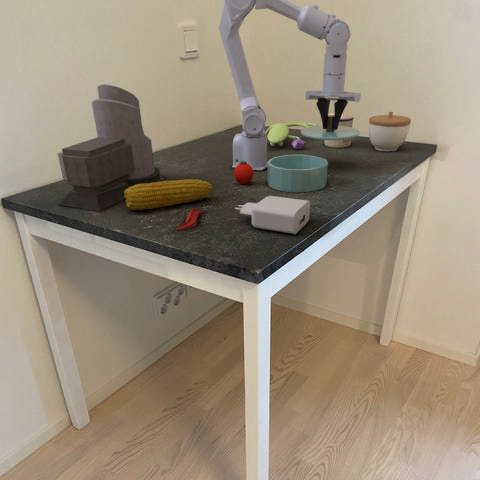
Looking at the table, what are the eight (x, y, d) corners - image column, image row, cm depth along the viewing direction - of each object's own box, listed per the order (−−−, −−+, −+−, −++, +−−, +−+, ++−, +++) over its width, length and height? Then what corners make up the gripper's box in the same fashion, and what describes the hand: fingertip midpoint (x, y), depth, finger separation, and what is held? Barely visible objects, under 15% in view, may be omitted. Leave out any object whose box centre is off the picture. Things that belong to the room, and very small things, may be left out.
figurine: (319, 136, 172) (321, 119, 169) (300, 153, 151) (301, 135, 148) (271, 133, 178) (271, 117, 175) (245, 150, 157) (245, 132, 154)
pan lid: (292, 139, 131) (293, 119, 128) (311, 128, 143) (312, 109, 140) (351, 143, 124) (353, 122, 122) (365, 131, 137) (367, 112, 134)
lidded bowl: (411, 146, 156) (417, 110, 150) (399, 155, 147) (405, 116, 142) (373, 142, 162) (377, 107, 156) (360, 150, 153) (364, 113, 147)
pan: (258, 188, 122) (258, 166, 119) (280, 172, 134) (280, 152, 131) (315, 195, 117) (317, 172, 114) (333, 178, 128) (335, 157, 125)
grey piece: (126, 171, 138) (112, 77, 125) (174, 177, 132) (165, 78, 119) (53, 204, 115) (26, 92, 102) (107, 212, 109) (86, 95, 96)
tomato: (230, 184, 125) (229, 163, 122) (239, 179, 129) (238, 158, 126) (248, 187, 123) (248, 165, 120) (256, 181, 127) (256, 160, 124)
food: (131, 216, 107) (127, 190, 104) (124, 209, 111) (120, 183, 108) (216, 200, 115) (215, 175, 112) (207, 194, 119) (205, 169, 116)
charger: (246, 211, 108) (309, 220, 102) (227, 225, 101) (293, 236, 95) (246, 190, 106) (310, 199, 100) (226, 203, 99) (294, 213, 93)
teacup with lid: (347, 149, 155) (351, 110, 149) (320, 147, 158) (322, 109, 152) (355, 141, 165) (359, 104, 158) (329, 139, 168) (332, 103, 161)
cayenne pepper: (184, 231, 99) (183, 223, 98) (166, 228, 101) (165, 219, 100) (215, 213, 107) (215, 205, 106) (198, 210, 109) (197, 202, 108)
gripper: (302, 75, 125) (300, 129, 132) (358, 76, 120) (352, 133, 127) (311, 72, 130) (308, 125, 138) (364, 73, 125) (358, 128, 132)
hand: (330, 128), depth 133 cm, fingers closed on pan lid, 2 cm apart
